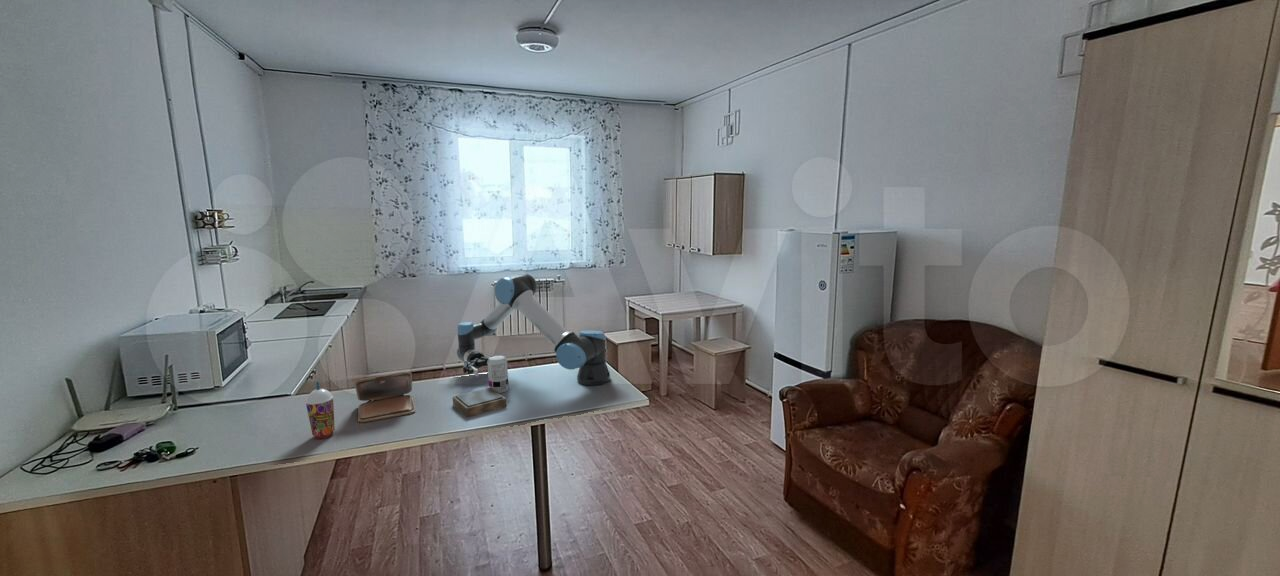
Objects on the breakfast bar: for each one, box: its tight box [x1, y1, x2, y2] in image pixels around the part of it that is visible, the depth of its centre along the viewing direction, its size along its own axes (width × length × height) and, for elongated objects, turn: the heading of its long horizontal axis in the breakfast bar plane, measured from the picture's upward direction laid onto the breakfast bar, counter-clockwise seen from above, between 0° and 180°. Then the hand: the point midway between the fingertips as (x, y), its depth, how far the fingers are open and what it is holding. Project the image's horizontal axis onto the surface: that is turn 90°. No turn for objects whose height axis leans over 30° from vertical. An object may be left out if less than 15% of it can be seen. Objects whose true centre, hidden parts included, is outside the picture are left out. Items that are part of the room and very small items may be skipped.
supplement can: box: [487, 354, 509, 394], centre depth 220 cm, size 8×8×15 cm
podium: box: [452, 387, 508, 418], centre depth 205 cm, size 16×16×4 cm
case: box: [354, 370, 417, 424], centre depth 201 cm, size 20×21×16 cm
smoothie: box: [305, 381, 336, 440], centre depth 178 cm, size 8×8×20 cm
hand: (492, 369), depth 224 cm, fingers open, 13 cm apart
